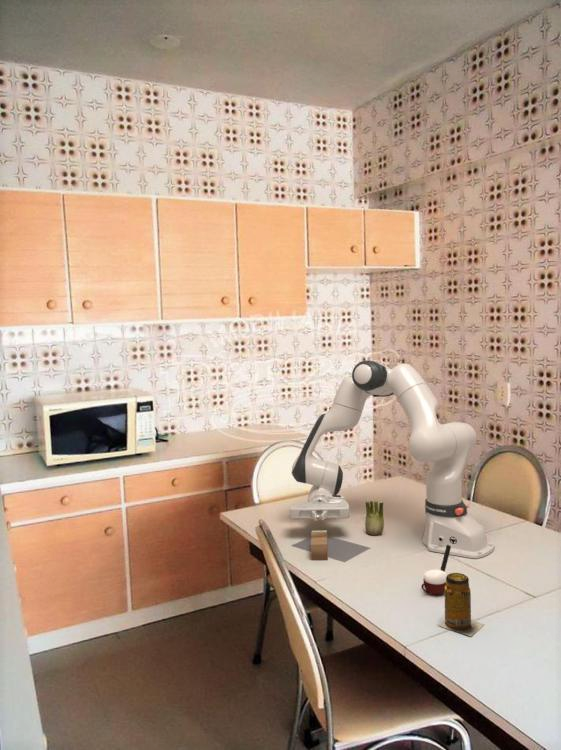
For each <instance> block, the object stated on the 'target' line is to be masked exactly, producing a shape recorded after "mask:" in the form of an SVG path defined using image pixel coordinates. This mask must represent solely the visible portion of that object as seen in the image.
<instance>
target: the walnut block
mask: <svg viewBox="0 0 561 750" xmlns="http://www.w3.org/2000/svg"><path fill="white" fill-rule="evenodd" d="M310 534H311V535H310V537H311V552H310V554H311V555H310V556H311V557H310V558H311V559H310V560H311V561H328V558H329V557H328V547H327V536H328V530H326V529H325V530H311V533H310Z"/></svg>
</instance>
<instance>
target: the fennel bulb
mask: <svg viewBox="0 0 561 750" xmlns="http://www.w3.org/2000/svg"><path fill="white" fill-rule="evenodd" d="M365 510H366V512H365V522H364V523H365V524H364V526H365V527H364V528H365V531H366V534H368V535H369V536H372V537H373V536H375V537H377V536H379V537H380V536H381V535H382V534H383V531H384V529H385V528H384V527H385V518H384V502H383V501H379V502H378V501H377V500H375V501H373V500H371V501H365Z"/></svg>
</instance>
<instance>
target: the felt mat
mask: <svg viewBox="0 0 561 750" xmlns="http://www.w3.org/2000/svg"><path fill="white" fill-rule="evenodd" d="M291 547H294V548H297V549H300V550H304V551H306V552H310V553H311V536H309V537H307V538H304V539H303V540H300V541H298V542H296V543H293V544H291ZM327 547H328V558H330V559H332V560H336V561H339V562H343V563H346V562H348V561H349V560H352V559H353V558H355V557H357V556H358V555H360V554H362V553H365V552H366V551H368V550H369V549H371V547H369V546H365V545H362V544H359V543H354V542H350V541H347V540H344V539H340V538H338V537H337V538H336V537H334V536H333V537H332V536H329V535H327Z"/></svg>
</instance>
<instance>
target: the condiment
mask: <svg viewBox="0 0 561 750" xmlns="http://www.w3.org/2000/svg"><path fill="white" fill-rule="evenodd" d="M469 580H470V579H469V577H468V575H466V574H463V573H461V572H451V573H449V574H448V573H447V576H446V586H445V592H444V620H442V621H441V622H440V623H439V624H438V627H442V628H444V629H446V630H449V631H452V632H457V633H459V634H462V635H466V636H469V637H472V636H474V635H475V634H476V633H477V632H479V631H480V630H481V628H483V627H484V626H485V624H484V623H481V622H478V621H475V620H473V619H472V608H471V607H472V603H471V601H472V597H471V596H472V595H471V588H470V583H469Z"/></svg>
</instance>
